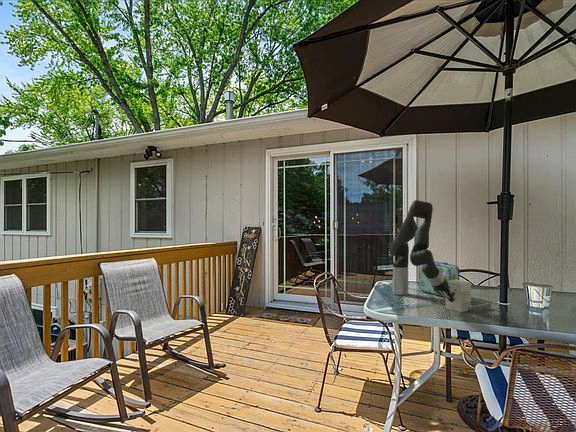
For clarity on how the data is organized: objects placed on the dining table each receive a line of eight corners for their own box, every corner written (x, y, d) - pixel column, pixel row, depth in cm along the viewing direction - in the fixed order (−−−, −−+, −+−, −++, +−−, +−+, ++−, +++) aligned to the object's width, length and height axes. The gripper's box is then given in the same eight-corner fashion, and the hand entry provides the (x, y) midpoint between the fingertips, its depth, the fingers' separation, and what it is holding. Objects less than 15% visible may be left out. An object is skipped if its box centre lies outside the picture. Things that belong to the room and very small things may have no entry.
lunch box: (462, 297, 211) (462, 263, 211) (450, 299, 206) (450, 264, 206) (428, 289, 234) (428, 258, 235) (417, 291, 230) (416, 259, 230)
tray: (473, 313, 177) (473, 307, 177) (444, 306, 191) (444, 300, 191) (490, 308, 185) (490, 303, 185) (462, 302, 199) (462, 297, 199)
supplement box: (445, 308, 185) (444, 280, 185) (455, 306, 190) (455, 279, 190) (460, 312, 177) (460, 283, 178) (471, 310, 182) (471, 281, 182)
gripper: (452, 275, 171) (467, 297, 177) (429, 272, 182) (444, 292, 188) (445, 287, 168) (460, 309, 174) (422, 283, 180) (437, 303, 186)
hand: (452, 300), depth 181 cm, fingers closed
